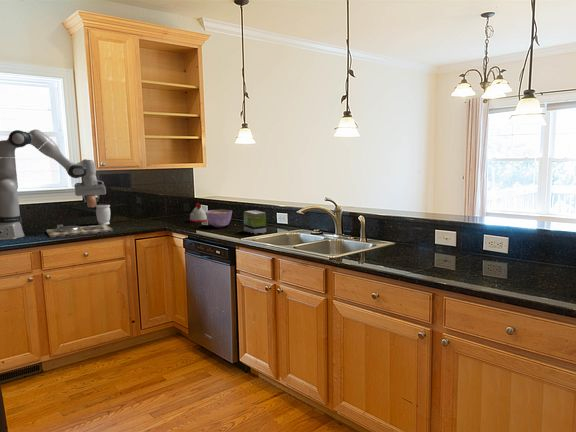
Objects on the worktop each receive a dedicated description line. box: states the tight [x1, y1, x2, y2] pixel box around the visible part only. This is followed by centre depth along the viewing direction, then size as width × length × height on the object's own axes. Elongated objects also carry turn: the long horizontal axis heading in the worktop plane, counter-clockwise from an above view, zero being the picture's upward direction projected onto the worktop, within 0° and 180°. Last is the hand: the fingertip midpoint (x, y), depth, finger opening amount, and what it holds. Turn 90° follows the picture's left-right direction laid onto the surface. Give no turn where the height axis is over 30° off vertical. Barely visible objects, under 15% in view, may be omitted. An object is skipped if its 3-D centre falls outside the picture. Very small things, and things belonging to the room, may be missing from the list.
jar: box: [95, 204, 111, 226], centre depth 344 cm, size 11×10×15 cm
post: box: [56, 223, 81, 232], centre depth 310 cm, size 15×15×4 cm
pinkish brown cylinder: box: [85, 195, 98, 209], centre depth 314 cm, size 8×6×8 cm
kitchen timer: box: [189, 202, 208, 223], centre depth 359 cm, size 14×14×15 cm
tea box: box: [243, 209, 267, 235], centre depth 309 cm, size 15×10×15 cm, turn 36°
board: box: [46, 224, 114, 238], centre depth 313 cm, size 40×24×2 cm, turn 123°
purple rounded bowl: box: [205, 209, 233, 228], centre depth 333 cm, size 20×20×12 cm
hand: (91, 201), depth 315 cm, fingers closed on pinkish brown cylinder, 6 cm apart
